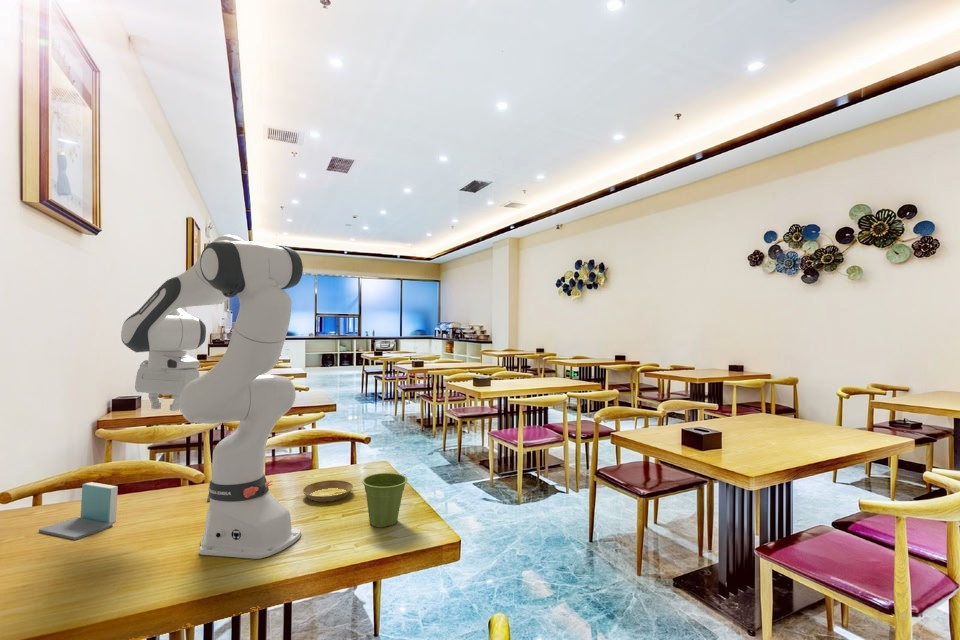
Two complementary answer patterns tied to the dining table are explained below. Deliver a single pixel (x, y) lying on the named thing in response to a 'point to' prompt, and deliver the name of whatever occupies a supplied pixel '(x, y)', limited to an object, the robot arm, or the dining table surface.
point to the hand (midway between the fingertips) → (165, 409)
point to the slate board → (75, 528)
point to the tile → (99, 502)
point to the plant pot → (384, 497)
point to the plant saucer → (326, 485)
